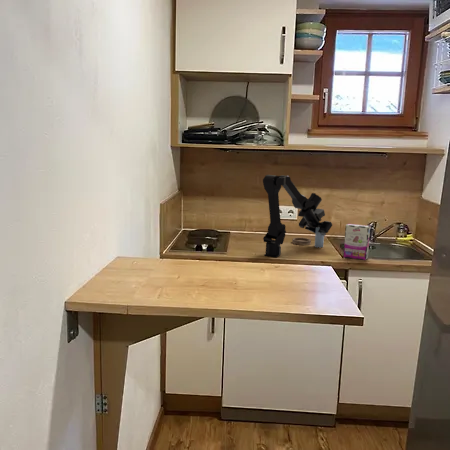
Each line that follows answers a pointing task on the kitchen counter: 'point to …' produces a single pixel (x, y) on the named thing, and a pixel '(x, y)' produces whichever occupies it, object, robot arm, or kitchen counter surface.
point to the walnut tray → (301, 241)
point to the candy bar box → (356, 241)
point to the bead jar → (319, 239)
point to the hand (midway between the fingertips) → (321, 234)
